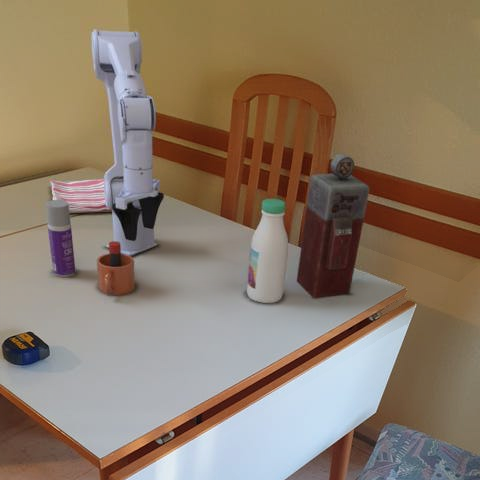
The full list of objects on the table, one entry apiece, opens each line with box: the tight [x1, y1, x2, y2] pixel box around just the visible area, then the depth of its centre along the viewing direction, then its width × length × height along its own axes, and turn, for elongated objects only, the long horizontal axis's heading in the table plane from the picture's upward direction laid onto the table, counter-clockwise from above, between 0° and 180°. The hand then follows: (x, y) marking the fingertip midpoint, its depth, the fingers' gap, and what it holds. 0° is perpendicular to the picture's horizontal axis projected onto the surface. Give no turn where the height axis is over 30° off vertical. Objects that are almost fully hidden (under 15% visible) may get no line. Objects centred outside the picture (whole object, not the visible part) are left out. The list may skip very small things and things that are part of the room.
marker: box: [108, 240, 122, 267], centre depth 129 cm, size 2×2×9 cm
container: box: [45, 199, 76, 278], centre depth 132 cm, size 5×5×15 cm
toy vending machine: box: [296, 153, 370, 299], centre depth 130 cm, size 9×11×28 cm
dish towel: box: [49, 178, 112, 214], centre depth 172 cm, size 17×23×4 cm
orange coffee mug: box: [96, 252, 136, 297], centre depth 129 cm, size 10×7×6 cm
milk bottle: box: [246, 198, 289, 304], centre depth 128 cm, size 8×8×20 cm
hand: (139, 233), depth 131 cm, fingers open, 7 cm apart
